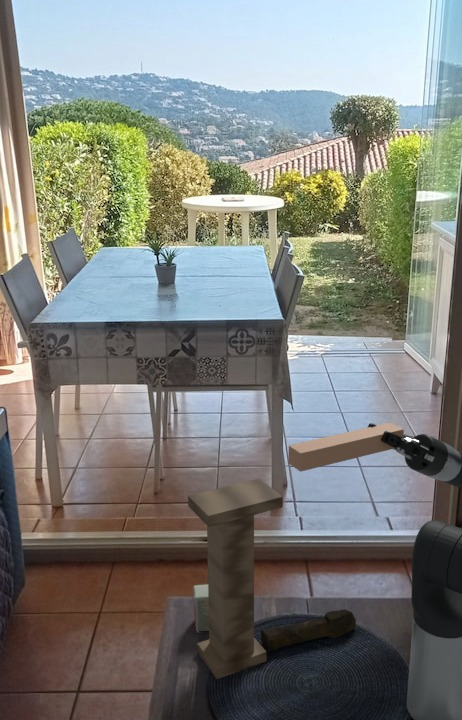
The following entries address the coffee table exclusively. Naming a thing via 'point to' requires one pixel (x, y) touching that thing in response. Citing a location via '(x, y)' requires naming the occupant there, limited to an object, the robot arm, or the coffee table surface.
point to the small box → (201, 607)
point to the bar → (341, 447)
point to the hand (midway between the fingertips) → (376, 432)
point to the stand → (232, 572)
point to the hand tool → (309, 630)
